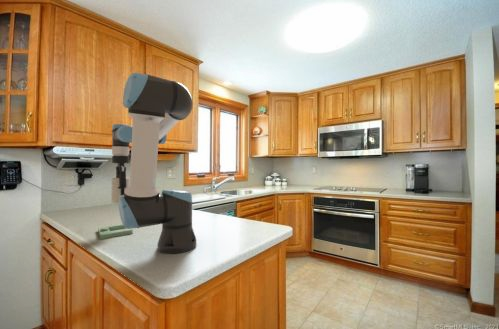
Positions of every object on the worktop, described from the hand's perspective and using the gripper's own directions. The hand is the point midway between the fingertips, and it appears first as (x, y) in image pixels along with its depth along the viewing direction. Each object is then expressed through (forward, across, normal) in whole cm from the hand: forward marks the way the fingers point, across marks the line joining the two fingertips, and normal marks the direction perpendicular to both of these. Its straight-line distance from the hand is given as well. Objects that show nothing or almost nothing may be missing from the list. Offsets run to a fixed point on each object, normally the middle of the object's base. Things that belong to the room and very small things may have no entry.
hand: (120, 200), depth 114 cm
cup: (+1, 0, 0) cm, 1 cm away
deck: (+16, 0, +3) cm, 16 cm away
